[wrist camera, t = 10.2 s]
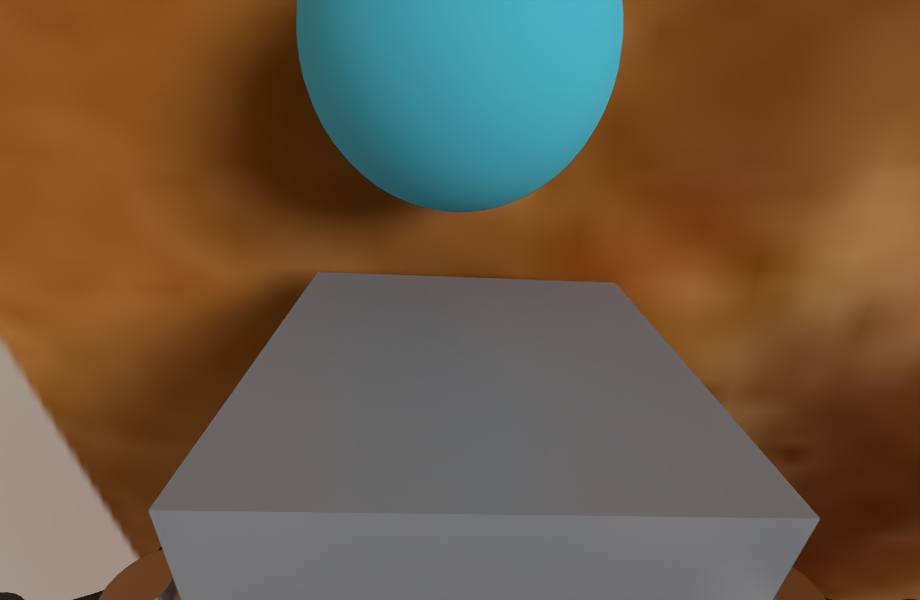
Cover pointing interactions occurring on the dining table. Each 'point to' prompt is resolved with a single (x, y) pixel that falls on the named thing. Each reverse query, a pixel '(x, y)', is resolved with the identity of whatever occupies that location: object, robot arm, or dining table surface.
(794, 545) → the grey cuboid
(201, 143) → the dining table surface
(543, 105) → the ball
